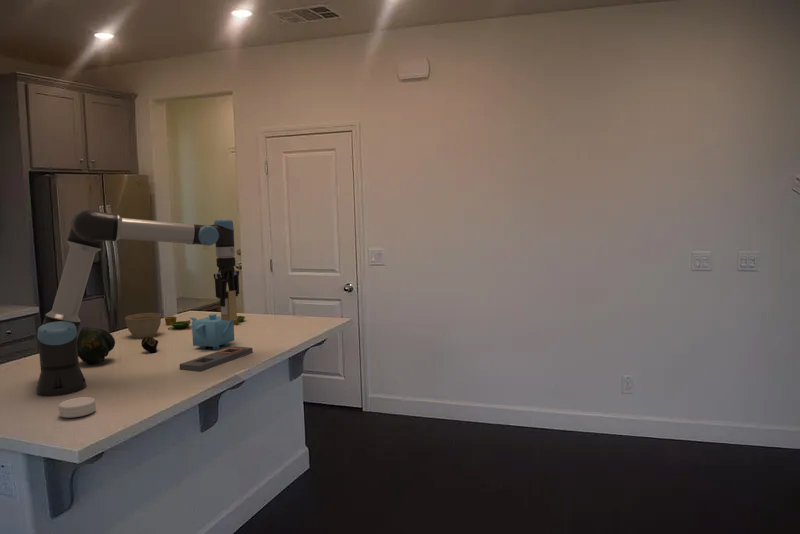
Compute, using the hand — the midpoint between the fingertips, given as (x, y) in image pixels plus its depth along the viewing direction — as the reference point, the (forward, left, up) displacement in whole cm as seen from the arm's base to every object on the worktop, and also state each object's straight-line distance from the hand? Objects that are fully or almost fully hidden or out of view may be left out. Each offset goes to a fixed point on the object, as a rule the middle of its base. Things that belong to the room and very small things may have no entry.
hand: (228, 313), depth 252 cm
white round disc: (-74, -2, -19) cm, 76 cm away
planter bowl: (+18, +67, -18) cm, 72 cm away
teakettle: (+13, +19, -18) cm, 30 cm away
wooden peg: (0, 0, -3) cm, 3 cm away
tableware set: (+51, +60, -19) cm, 80 cm away
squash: (-27, +46, -18) cm, 56 cm away
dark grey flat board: (-8, 0, -18) cm, 20 cm away
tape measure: (-5, +39, -18) cm, 43 cm away
